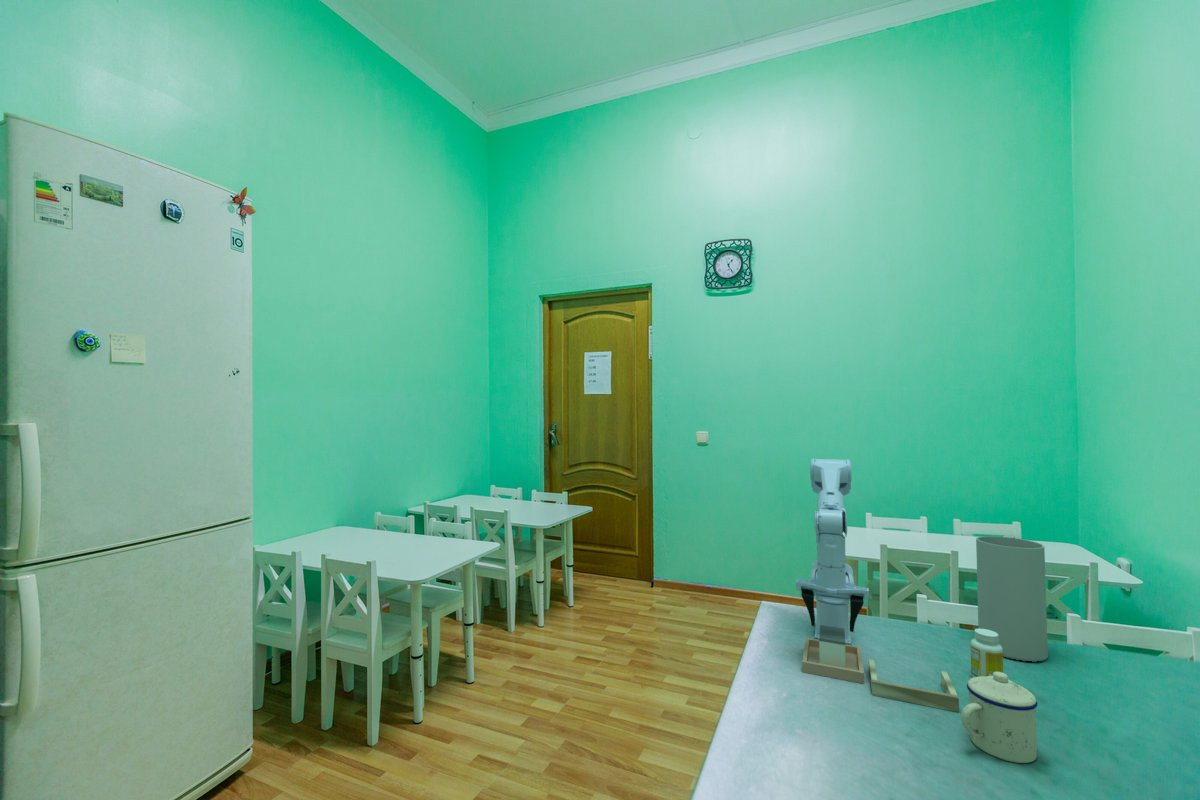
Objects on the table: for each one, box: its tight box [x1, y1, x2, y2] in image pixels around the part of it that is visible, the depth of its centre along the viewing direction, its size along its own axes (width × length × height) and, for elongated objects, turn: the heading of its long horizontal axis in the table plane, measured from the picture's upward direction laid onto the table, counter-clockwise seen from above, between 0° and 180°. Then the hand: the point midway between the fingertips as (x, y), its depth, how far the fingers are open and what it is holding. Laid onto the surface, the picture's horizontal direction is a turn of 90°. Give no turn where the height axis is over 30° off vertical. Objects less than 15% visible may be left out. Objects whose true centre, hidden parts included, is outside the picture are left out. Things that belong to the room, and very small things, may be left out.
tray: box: [801, 637, 865, 685], centre depth 112 cm, size 14×12×2 cm
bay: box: [868, 658, 960, 713], centre depth 102 cm, size 11×14×2 cm
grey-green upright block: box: [818, 625, 846, 668], centre depth 112 cm, size 8×5×6 cm, turn 156°
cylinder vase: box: [975, 535, 1049, 663], centre depth 120 cm, size 12×12×25 cm
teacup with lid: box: [960, 672, 1039, 764], centre depth 84 cm, size 12×9×12 cm
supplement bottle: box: [970, 628, 1004, 678], centre depth 106 cm, size 5×5×10 cm
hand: (832, 627), depth 113 cm, fingers open, 7 cm apart
